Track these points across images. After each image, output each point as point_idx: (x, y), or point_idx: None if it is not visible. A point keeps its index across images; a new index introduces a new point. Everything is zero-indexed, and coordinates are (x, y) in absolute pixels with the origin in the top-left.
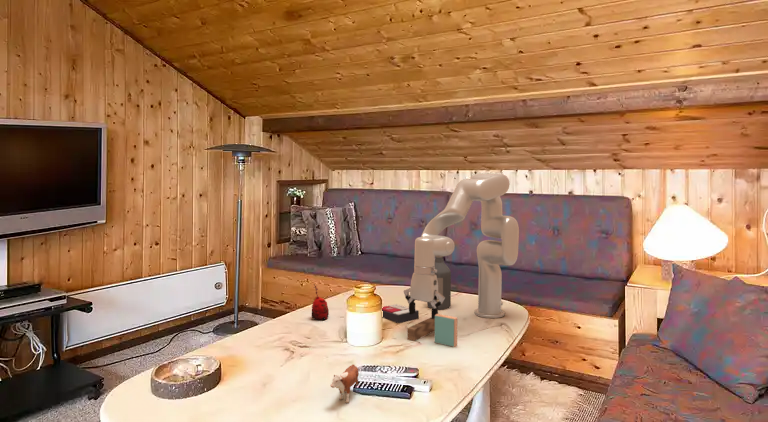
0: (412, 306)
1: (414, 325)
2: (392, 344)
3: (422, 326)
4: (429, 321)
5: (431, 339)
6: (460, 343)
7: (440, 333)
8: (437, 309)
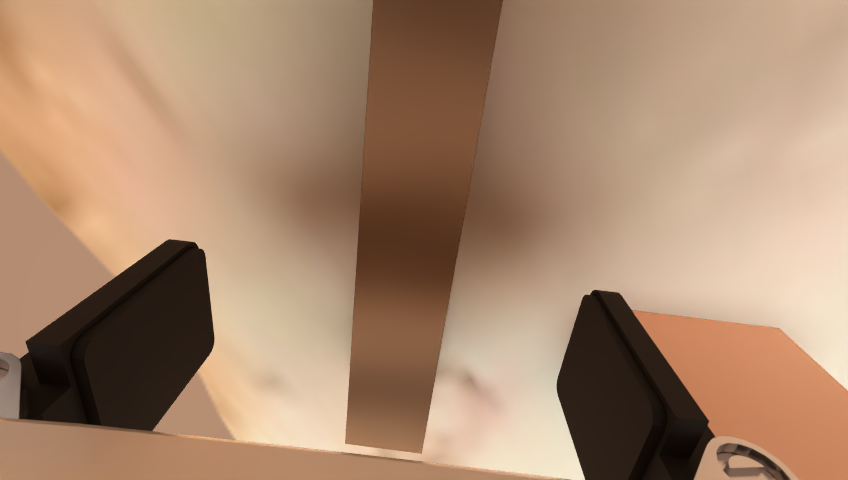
0: (141, 400)
1: (361, 366)
2: None
3: (440, 339)
4: (445, 169)
5: (536, 297)
6: (808, 278)
7: None
8: (702, 445)
